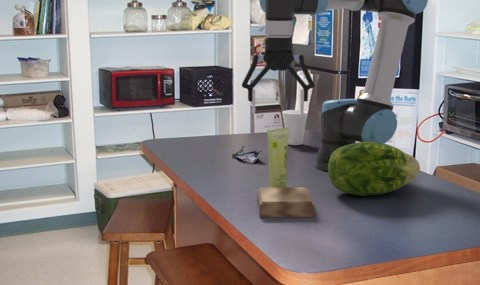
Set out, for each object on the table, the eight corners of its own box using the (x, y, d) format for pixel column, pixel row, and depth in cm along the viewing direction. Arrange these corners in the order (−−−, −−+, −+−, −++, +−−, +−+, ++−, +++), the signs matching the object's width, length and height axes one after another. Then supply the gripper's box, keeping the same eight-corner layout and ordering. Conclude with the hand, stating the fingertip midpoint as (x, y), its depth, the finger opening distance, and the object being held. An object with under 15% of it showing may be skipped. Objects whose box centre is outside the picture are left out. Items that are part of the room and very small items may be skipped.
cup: (308, 147, 243) (309, 113, 240) (282, 147, 243) (283, 113, 241) (306, 141, 253) (306, 109, 250) (281, 141, 253) (281, 109, 250)
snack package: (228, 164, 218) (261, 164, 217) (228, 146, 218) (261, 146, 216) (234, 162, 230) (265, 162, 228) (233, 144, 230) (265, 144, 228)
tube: (283, 198, 178) (284, 130, 174) (266, 196, 179) (266, 129, 175) (288, 192, 183) (289, 127, 179) (271, 191, 185) (272, 126, 181)
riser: (307, 200, 176) (307, 186, 175) (313, 216, 162) (314, 202, 161) (257, 200, 175) (257, 187, 175) (259, 217, 162) (259, 202, 161)
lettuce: (427, 200, 176) (431, 146, 173) (335, 203, 173) (337, 149, 170) (407, 185, 191) (410, 135, 187) (322, 188, 188) (323, 137, 184)
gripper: (322, 36, 176) (319, 110, 180) (233, 35, 175) (233, 110, 180) (326, 37, 168) (323, 115, 173) (233, 37, 168) (233, 115, 172)
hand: (277, 113), depth 176 cm, fingers open, 13 cm apart
